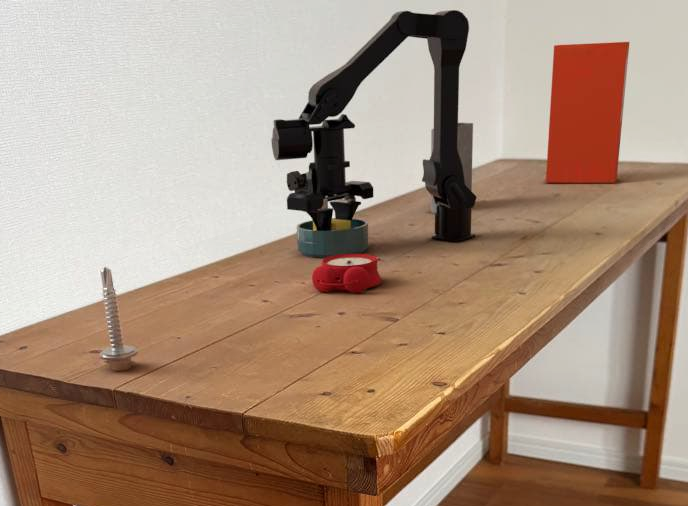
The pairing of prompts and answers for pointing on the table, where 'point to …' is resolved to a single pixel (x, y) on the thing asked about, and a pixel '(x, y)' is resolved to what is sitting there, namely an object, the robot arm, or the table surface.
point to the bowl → (332, 240)
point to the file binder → (586, 112)
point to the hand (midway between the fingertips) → (332, 242)
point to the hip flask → (460, 154)
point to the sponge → (338, 225)
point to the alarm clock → (347, 273)
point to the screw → (114, 328)
